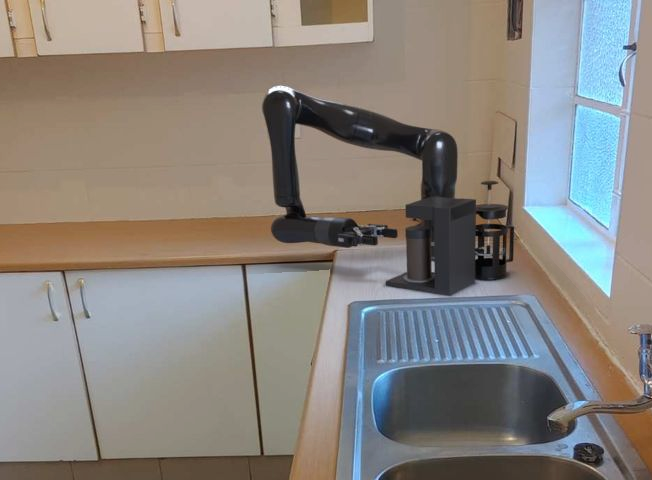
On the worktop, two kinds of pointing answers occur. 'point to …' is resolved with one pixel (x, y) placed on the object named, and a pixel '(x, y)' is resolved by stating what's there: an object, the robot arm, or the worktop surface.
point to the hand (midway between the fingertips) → (387, 237)
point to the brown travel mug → (418, 252)
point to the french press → (494, 265)
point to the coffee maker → (446, 245)
